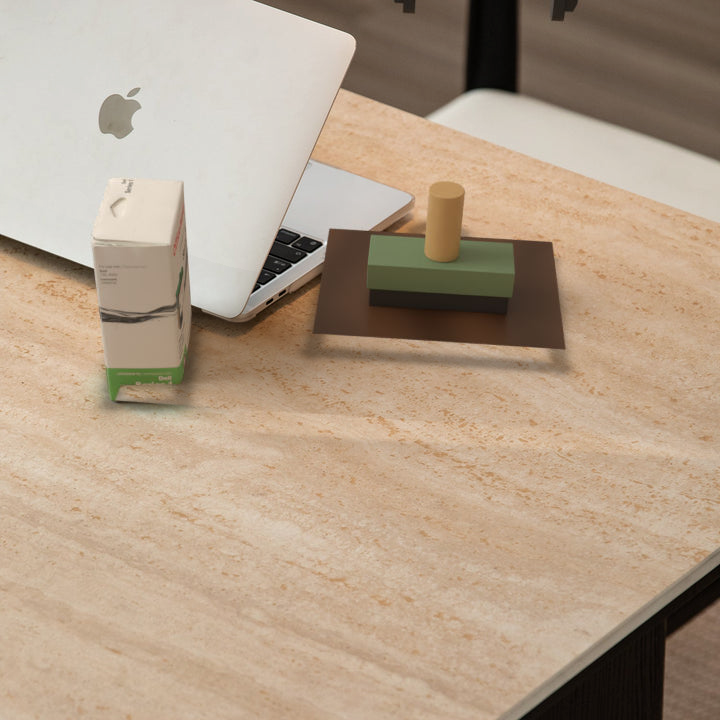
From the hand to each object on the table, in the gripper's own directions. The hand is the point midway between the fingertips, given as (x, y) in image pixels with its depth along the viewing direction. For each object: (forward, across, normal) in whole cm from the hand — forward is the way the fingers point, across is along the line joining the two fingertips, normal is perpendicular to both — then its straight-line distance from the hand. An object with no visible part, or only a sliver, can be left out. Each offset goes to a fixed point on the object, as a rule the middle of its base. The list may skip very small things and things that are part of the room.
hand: (483, 13), depth 72 cm
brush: (+22, -1, +3) cm, 22 cm away
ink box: (+23, -20, -5) cm, 31 cm away
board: (+23, -1, +5) cm, 24 cm away
